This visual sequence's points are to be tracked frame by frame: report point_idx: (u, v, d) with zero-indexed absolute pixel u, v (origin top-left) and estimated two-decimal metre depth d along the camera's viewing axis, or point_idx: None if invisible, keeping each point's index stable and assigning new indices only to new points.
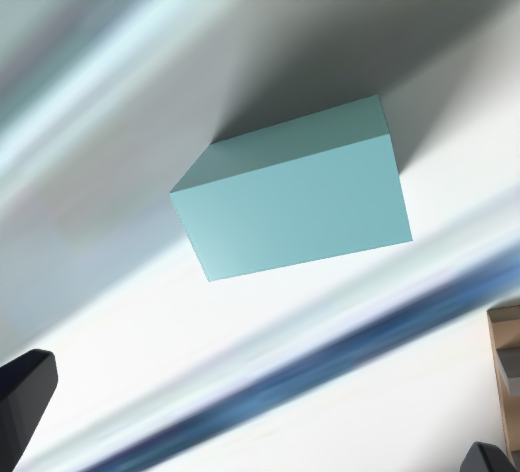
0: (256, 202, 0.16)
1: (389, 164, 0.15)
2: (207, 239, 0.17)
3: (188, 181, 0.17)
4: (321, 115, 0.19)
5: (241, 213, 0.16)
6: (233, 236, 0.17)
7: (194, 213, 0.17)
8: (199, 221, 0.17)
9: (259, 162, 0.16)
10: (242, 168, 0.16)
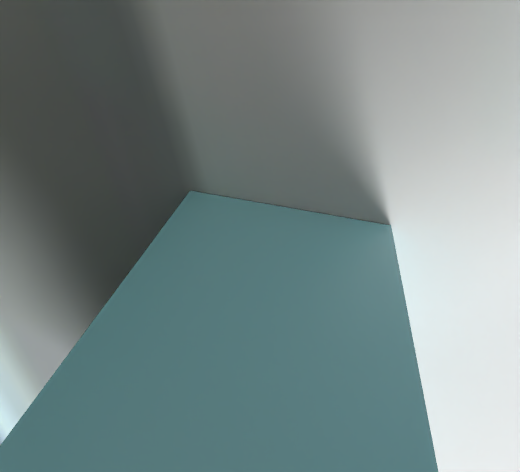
0: None
1: None
2: None
3: None
4: None
5: None
6: None
7: None
8: None
9: None
10: None
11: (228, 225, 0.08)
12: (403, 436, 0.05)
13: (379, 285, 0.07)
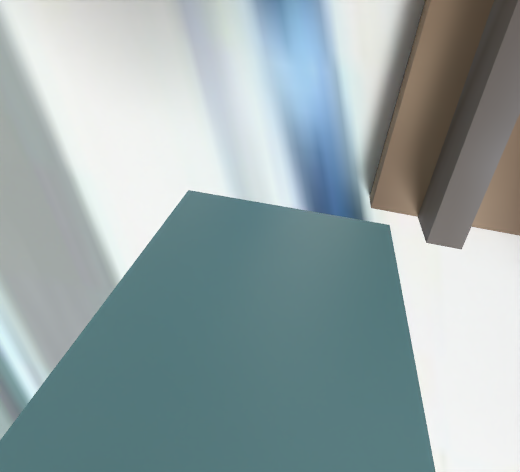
0: None
1: None
2: None
3: None
4: None
5: None
6: None
7: None
8: None
9: None
10: None
11: (226, 225, 0.08)
12: (400, 436, 0.05)
13: (377, 285, 0.07)
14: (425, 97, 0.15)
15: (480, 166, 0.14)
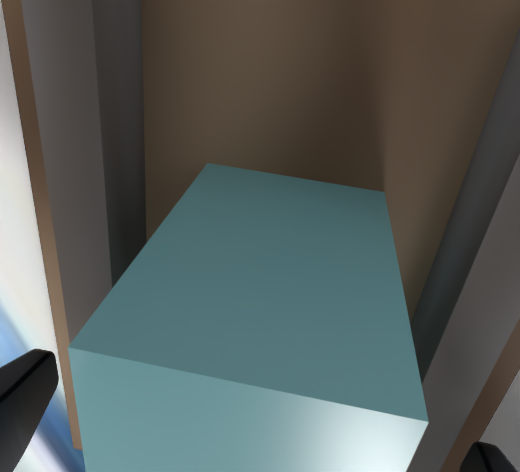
0: None
1: (153, 377, 0.05)
2: None
3: None
4: None
5: None
6: None
7: None
8: None
9: None
10: None
11: (242, 189, 0.09)
12: (390, 336, 0.06)
13: (373, 235, 0.08)
14: None
15: None
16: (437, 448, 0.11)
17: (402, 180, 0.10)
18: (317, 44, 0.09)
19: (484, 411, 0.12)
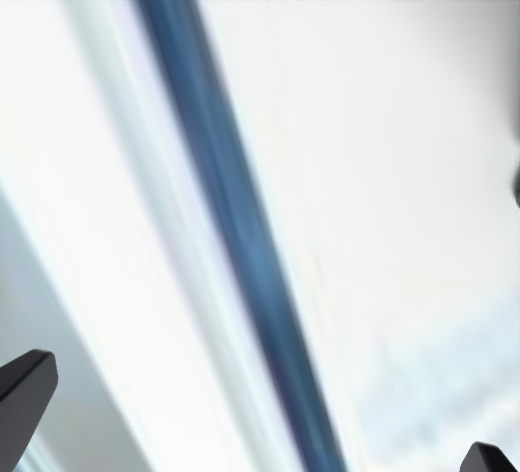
0: None
1: None
2: None
3: None
4: None
5: None
6: None
7: None
8: None
9: None
10: None
11: None
12: None
13: None
14: None
15: None
16: None
17: None
18: None
19: None
